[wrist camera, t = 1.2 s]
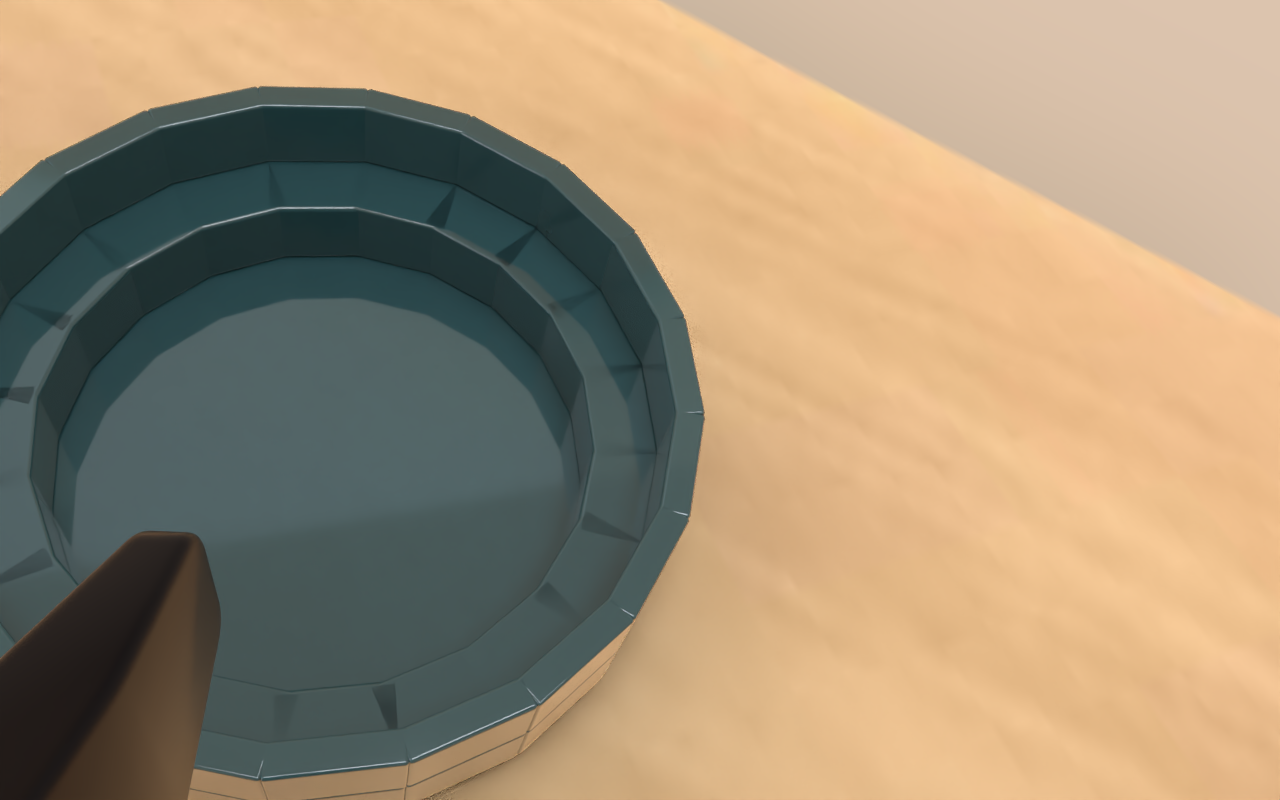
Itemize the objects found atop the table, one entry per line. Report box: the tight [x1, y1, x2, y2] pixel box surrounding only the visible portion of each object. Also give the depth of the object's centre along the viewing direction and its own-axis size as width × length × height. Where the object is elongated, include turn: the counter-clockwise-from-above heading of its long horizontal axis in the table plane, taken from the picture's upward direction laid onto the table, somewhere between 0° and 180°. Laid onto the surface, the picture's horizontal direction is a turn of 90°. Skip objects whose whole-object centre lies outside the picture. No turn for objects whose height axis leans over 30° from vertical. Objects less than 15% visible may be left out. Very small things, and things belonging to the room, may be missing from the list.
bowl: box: [0, 86, 705, 800], centre depth 23 cm, size 14×14×4 cm
